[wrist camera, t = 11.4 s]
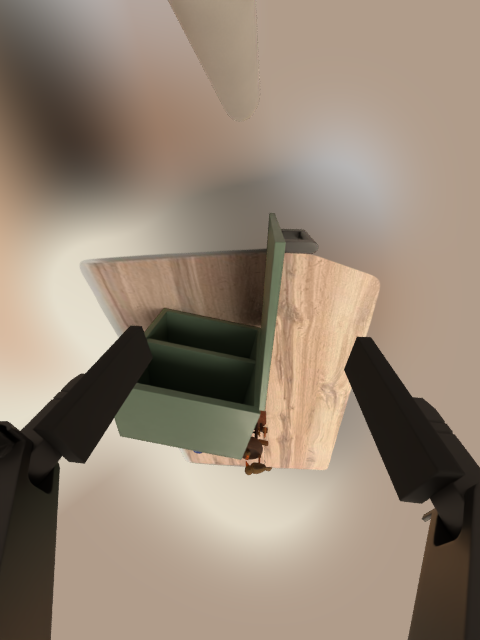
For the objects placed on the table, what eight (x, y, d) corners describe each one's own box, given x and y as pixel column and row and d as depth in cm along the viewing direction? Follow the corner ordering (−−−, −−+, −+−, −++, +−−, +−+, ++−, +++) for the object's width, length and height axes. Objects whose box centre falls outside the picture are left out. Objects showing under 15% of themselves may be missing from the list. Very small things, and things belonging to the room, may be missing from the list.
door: (305, 213, 38) (352, 244, 18) (287, 327, 52) (300, 414, 32) (269, 213, 38) (274, 241, 18) (260, 326, 53) (258, 410, 33)
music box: (270, 404, 71) (272, 473, 56) (270, 419, 78) (271, 484, 62) (228, 402, 73) (218, 468, 57) (231, 417, 80) (223, 479, 64)
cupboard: (164, 307, 53) (102, 382, 33) (262, 328, 54) (260, 414, 33) (166, 356, 63) (120, 436, 43) (248, 373, 64) (241, 460, 43)
